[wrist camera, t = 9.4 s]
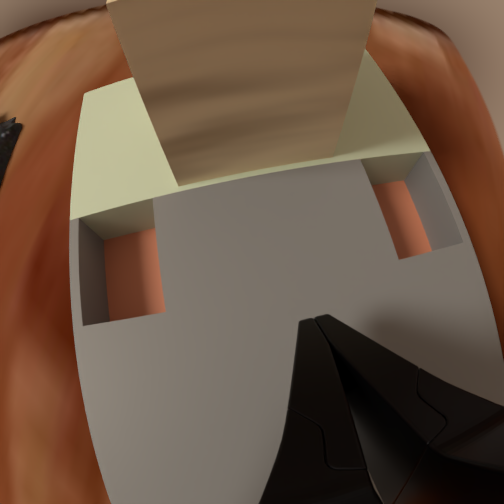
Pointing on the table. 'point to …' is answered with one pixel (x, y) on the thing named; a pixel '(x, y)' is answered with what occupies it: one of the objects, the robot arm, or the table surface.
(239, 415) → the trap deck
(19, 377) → the table surface
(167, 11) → the maple block
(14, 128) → the dark slate chunk
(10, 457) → the table surface
